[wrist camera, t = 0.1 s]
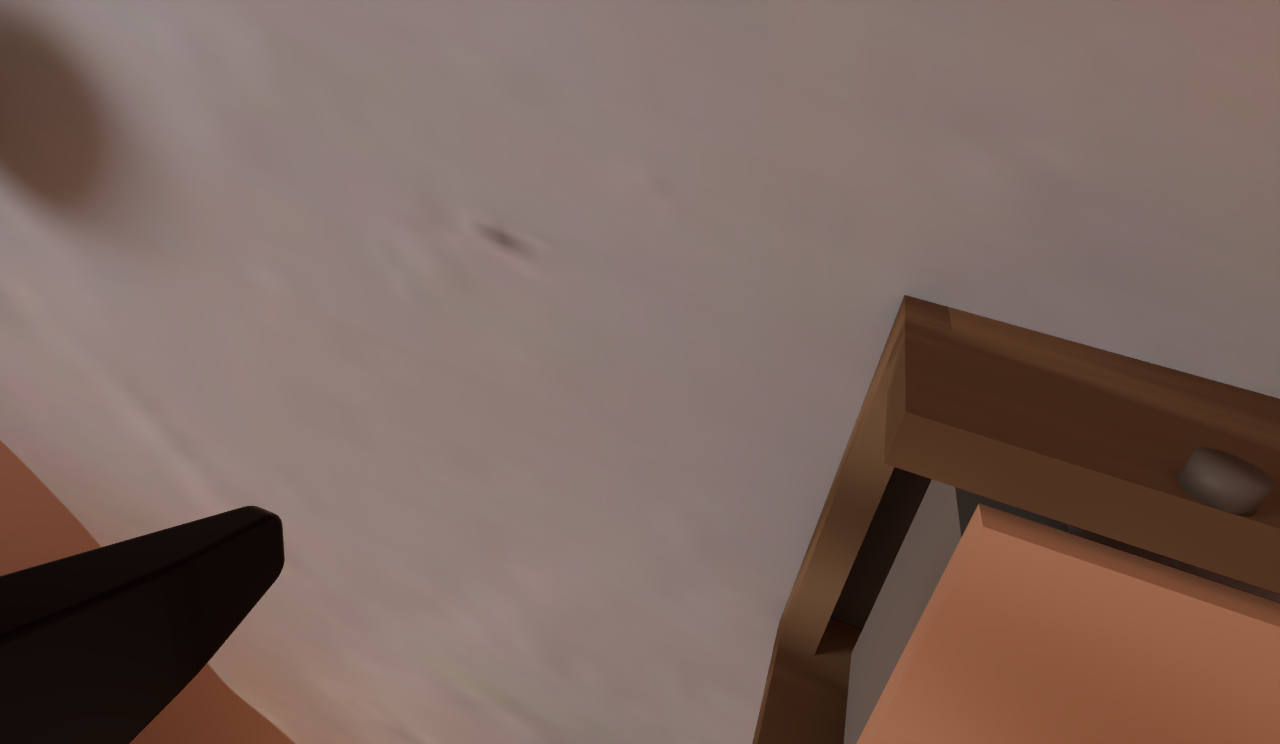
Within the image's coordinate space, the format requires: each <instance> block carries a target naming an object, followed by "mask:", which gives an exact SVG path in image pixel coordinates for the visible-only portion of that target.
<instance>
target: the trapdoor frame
mask: <svg viewBox="0 0 1280 744" xmlns="http://www.w3.org/2000/svg"><path fill="white" fill-rule="evenodd" d="M894 467H896V468H899V469H902V470H905V471H908V472H911V473H914V474H917V475H920V476H923V477H926V478H929V479H932V480H936V481H939V482H942V483H945V484H948V485H951V486H954V487H957V488H960V489H963V490H966V491H969V492H972V493H975V494H978V495H981V496H984V497H987V498H990V499H993V500H996V501H999V502H1002V503H1005V504H1008V505H1011V506H1014V507H1017V508H1020V509H1023V510H1026V511H1029V512H1032V513H1035V514H1039V515H1042V516H1045V517H1048V518H1051V519H1054V520H1057V521H1060V522H1063V523H1066V524H1069V525H1072V526H1075V527H1078V528H1081V529H1084V530H1087V531H1090V532H1093V533H1096V534H1099V535H1102V536H1105V537H1108V538H1111V539H1114V540H1117V541H1120V542H1123V543H1126V544H1129V545H1132V546H1135V547H1138V548H1141V549H1145V550H1148V551H1151V552H1154V553H1157V554H1160V555H1163V556H1166V557H1169V558H1172V559H1175V560H1178V561H1181V562H1184V563H1187V564H1190V565H1193V566H1196V567H1199V568H1202V569H1205V570H1208V571H1211V572H1214V573H1217V574H1220V575H1223V576H1226V577H1229V578H1232V579H1235V580H1238V581H1241V582H1244V583H1248V584H1251V585H1254V586H1257V587H1260V588H1263V589H1266V590H1269V591H1272V592H1275V593H1278V594H1280V399H1278V398H1274V397H1271V396H1267V395H1263V394H1260V393H1256V392H1253V391H1249V390H1245V389H1242V388H1238V387H1234V386H1231V385H1227V384H1224V383H1220V382H1216V381H1213V380H1209V379H1206V378H1202V377H1198V376H1195V375H1191V374H1188V373H1184V372H1180V371H1177V370H1173V369H1170V368H1166V367H1162V366H1159V365H1155V364H1151V363H1148V362H1144V361H1141V360H1137V359H1133V358H1130V357H1126V356H1123V355H1119V354H1115V353H1112V352H1108V351H1105V350H1101V349H1097V348H1094V347H1090V346H1086V345H1083V344H1079V343H1076V342H1072V341H1068V340H1065V339H1061V338H1058V337H1054V336H1050V335H1047V334H1043V333H1040V332H1036V331H1032V330H1029V329H1025V328H1022V327H1018V326H1014V325H1011V324H1007V323H1003V322H1000V321H996V320H993V319H989V318H985V317H982V316H978V315H975V314H971V313H967V312H964V311H960V310H957V309H953V308H949V307H946V306H942V305H938V304H935V303H931V302H928V301H924V300H920V299H917V298H913V297H910V296H906V295H905V296H904V298H903V301H902V303H901V306H900V309H899V311H898V314H897V317H896V319H895V322H894V324H893V327H892V330H891V332H890V335H889V337H888V340H887V343H886V345H885V348H884V351H883V353H882V356H881V358H880V361H879V364H878V366H877V369H876V372H875V374H874V377H873V379H872V382H871V385H870V387H869V390H868V392H867V395H866V398H865V400H864V403H863V406H862V408H861V411H860V413H859V416H858V419H857V421H856V424H855V426H854V429H853V432H852V434H851V437H850V440H849V442H848V445H847V447H846V450H845V453H844V455H843V458H842V461H841V463H840V466H839V468H838V471H837V474H836V476H835V479H834V481H833V484H832V487H831V489H830V492H829V495H828V497H827V500H826V502H825V505H824V508H823V510H822V513H821V515H820V518H819V521H818V523H817V526H816V529H815V531H814V534H813V536H812V539H811V542H810V544H809V547H808V550H807V552H806V555H805V557H804V560H803V563H802V565H801V568H800V570H799V573H798V576H797V578H796V581H795V584H794V586H793V589H792V591H791V594H790V597H789V599H788V602H787V604H786V607H785V610H784V612H783V615H782V618H781V620H780V623H779V626H778V630H777V635H776V639H775V644H774V648H773V653H772V658H771V662H770V667H769V671H768V676H767V680H766V685H765V689H764V694H763V698H762V703H761V708H760V712H759V717H758V721H757V726H756V730H755V735H754V739H753V744H844V733H845V722H846V710H847V699H848V687H849V676H850V664H851V654H852V651H853V649H854V647H855V645H856V643H857V641H858V638H859V636H860V634H861V632H862V630H861V629H858V628H855V627H853V626H850V625H848V624H845V623H842V622H840V621H837V620H834V619H832V618H830V617H831V615H832V612H833V610H834V608H835V605H836V603H837V601H838V598H839V596H840V594H841V591H842V589H843V587H844V584H845V582H846V579H847V577H848V575H849V572H850V570H851V568H852V565H853V563H854V561H855V558H856V556H857V554H858V551H859V549H860V547H861V544H862V542H863V540H864V537H865V535H866V533H867V530H868V528H869V526H870V523H871V521H872V519H873V516H874V514H875V512H876V509H877V507H878V505H879V502H880V500H881V497H882V495H883V493H884V490H885V488H886V486H887V483H888V481H889V479H890V476H891V474H892V472H893V469H894Z"/></svg>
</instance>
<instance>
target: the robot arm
mask: <svg viewBox="0 0 1280 744" xmlns="http://www.w3.org/2000/svg"><path fill="white" fill-rule="evenodd" d="M284 560H285V557H284V542H283V528H282V521H281V519H280V518H279V516H278V515H276V514H274V513H272V512H269V511H267V510H265V509H262V508H260V507H257V506H246V507H242V508H238V509H235V510H231V511H228V512H224V513H221V514H217V515H214V516H210V517H207V518H203V519H199V520H196V521H192V522H189V523H185V524H182V525H178V526H175V527H171V528H168V529H164V530H161V531H157V532H154V533H150V534H147V535H143V536H140V537H136V538H133V539H129V540H126V541H122V542H119V543H115V544H112V545H108V546H105V547H101V548H98V549H94V550H91V551H87V552H84V553H80V554H76V555H73V556H70V557H66V558H63V559H59V560H56V561H52V562H48V563H45V564H41V565H38V566H35V567H31V568H27V569H24V570H20V571H17V572H13V573H10V574H6V575H3V576H0V744H129V743H130V742H131V741H132V740H133V739H134V738H135V737H136V736H137V735H138V734H139V733H140V732H141V731H142V730H143V729H144V728H145V727H146V726H147V725H148V724H149V723H150V722H151V721H152V720H153V719H154V718H155V717H156V716H157V715H158V714H159V713H160V712H161V711H162V710H163V709H164V708H165V707H166V706H167V705H168V704H169V703H170V702H171V701H172V700H173V699H174V698H175V697H176V696H177V695H178V694H179V693H180V692H181V691H182V690H183V689H184V688H185V686H186V685H187V684H188V683H189V682H190V681H191V680H192V679H193V678H194V677H195V676H196V675H197V674H198V673H199V672H200V670H201V669H202V668H203V667H204V666H205V665H206V664H207V662H208V661H209V660H210V659H211V658H212V657H213V655H214V654H215V653H216V652H217V651H218V649H219V648H220V647H221V646H222V645H223V643H224V642H225V641H226V640H227V639H228V637H229V636H230V635H231V634H232V633H233V631H234V630H235V629H236V628H237V627H238V625H239V624H240V623H241V622H242V620H243V619H244V618H245V617H246V616H247V614H248V613H249V612H250V611H251V610H252V608H253V607H254V606H255V605H256V604H257V602H258V601H259V600H260V599H261V598H262V596H263V595H264V594H265V593H266V592H267V590H268V589H269V588H270V587H271V586H272V584H273V583H274V582H275V581H276V579H277V578H278V576H279V575H280V573H281V571H282V568H283V566H284Z"/></svg>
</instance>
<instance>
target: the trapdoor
mask: <svg viewBox="0 0 1280 744" xmlns="http://www.w3.org/2000/svg"><path fill="white" fill-rule="evenodd" d="M844 744H1280V603H1277V602H1274V601H1271V600H1268V599H1265V598H1262V597H1259V596H1256V595H1253V594H1250V593H1247V592H1244V591H1241V590H1238V589H1235V588H1232V587H1229V586H1226V585H1223V584H1220V583H1217V582H1214V581H1211V580H1208V579H1205V578H1202V577H1199V576H1196V575H1193V574H1190V573H1187V572H1184V571H1181V570H1178V569H1175V568H1172V567H1169V566H1166V565H1163V564H1160V563H1157V562H1154V561H1151V560H1148V559H1145V558H1142V557H1139V556H1136V555H1133V554H1130V553H1127V552H1124V551H1121V550H1118V549H1115V548H1112V547H1109V546H1106V545H1103V544H1100V543H1097V542H1094V541H1091V540H1088V539H1085V538H1082V537H1079V536H1076V535H1073V534H1070V533H1068V530H1067V527H1066V525H1065V523H1063V522H1060V521H1057V520H1054V519H1051V518H1048V517H1045V516H1042V515H1039V514H1035V513H1032V512H1029V511H1026V510H1023V509H1020V508H1017V507H1014V506H1011V505H1008V504H1005V503H1002V502H999V501H996V500H993V499H990V498H987V497H984V496H981V495H978V494H975V493H972V492H969V491H966V490H963V489H960V488H957V487H954V486H951V485H948V484H945V483H942V482H939V481H936V480H931V482H930V485H929V487H928V489H927V491H926V493H925V495H924V498H923V500H922V502H921V504H920V506H919V508H918V511H917V513H916V515H915V517H914V519H913V521H912V524H911V526H910V528H909V530H908V532H907V534H906V537H905V539H904V541H903V543H902V545H901V547H900V550H899V552H898V554H897V556H896V558H895V560H894V563H893V565H892V567H891V569H890V571H889V573H888V576H887V578H886V580H885V582H884V584H883V586H882V589H881V591H880V593H879V595H878V597H877V599H876V602H875V604H874V606H873V608H872V610H871V612H870V615H869V617H868V619H867V621H866V623H865V625H864V628H863V630H862V632H861V634H860V636H859V638H858V641H857V643H856V645H855V647H854V649H853V651H852V654H851V664H850V676H849V687H848V699H847V710H846V722H845V733H844Z"/></svg>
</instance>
